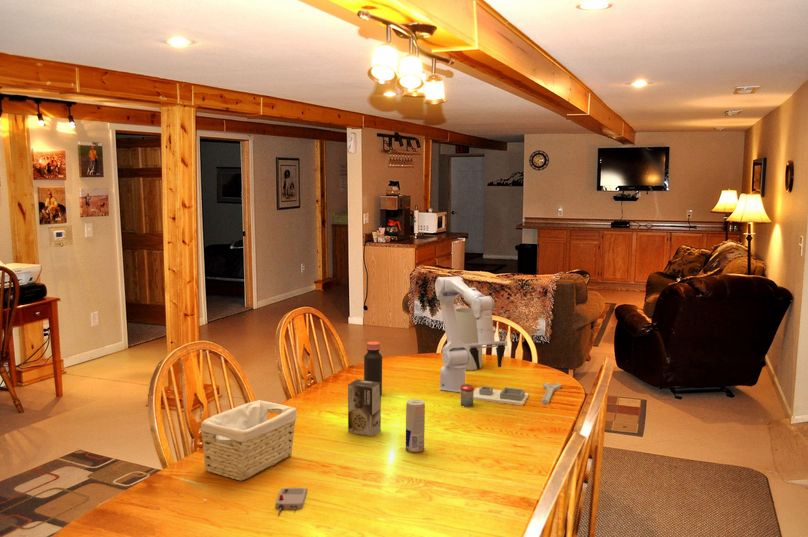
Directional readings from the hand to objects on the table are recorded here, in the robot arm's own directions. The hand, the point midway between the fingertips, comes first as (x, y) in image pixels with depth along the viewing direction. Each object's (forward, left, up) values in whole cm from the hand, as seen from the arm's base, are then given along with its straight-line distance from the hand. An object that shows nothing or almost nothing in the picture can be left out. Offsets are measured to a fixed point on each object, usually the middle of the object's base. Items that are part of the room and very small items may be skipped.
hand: (489, 368), depth 245 cm
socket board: (+1, +12, -14) cm, 19 cm away
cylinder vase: (-21, +49, -15) cm, 55 cm away
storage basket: (-52, -74, -15) cm, 91 cm away
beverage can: (-12, -47, -15) cm, 50 cm away
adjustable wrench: (+18, +24, -15) cm, 33 cm away
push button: (-8, -1, -14) cm, 16 cm away
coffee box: (-32, -39, -15) cm, 52 cm away
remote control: (-30, -90, -15) cm, 96 cm away
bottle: (-44, -3, -15) cm, 46 cm away
